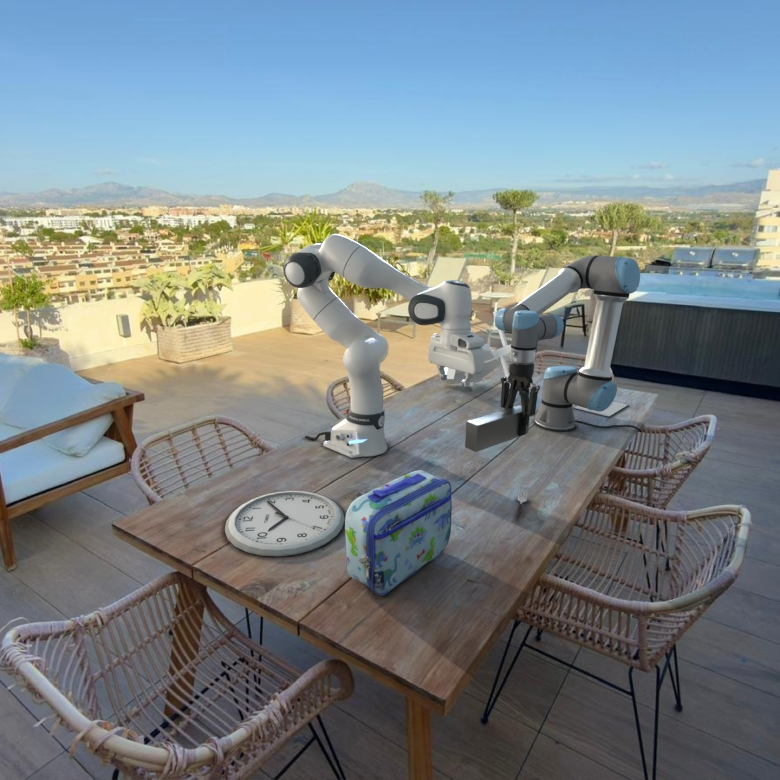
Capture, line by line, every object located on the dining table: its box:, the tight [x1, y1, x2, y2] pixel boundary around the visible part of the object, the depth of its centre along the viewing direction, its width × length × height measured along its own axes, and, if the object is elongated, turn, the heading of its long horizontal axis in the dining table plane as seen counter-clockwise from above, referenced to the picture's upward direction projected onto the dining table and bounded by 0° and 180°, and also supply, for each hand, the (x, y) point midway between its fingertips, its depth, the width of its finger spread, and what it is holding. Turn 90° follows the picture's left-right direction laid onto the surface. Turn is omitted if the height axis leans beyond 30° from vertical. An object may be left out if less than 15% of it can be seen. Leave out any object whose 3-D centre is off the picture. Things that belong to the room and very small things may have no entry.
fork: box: [516, 487, 529, 521], centre depth 143 cm, size 3×16×2 cm, turn 160°
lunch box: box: [344, 469, 453, 596], centre depth 114 cm, size 26×11×21 cm, turn 135°
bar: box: [464, 405, 531, 453], centre depth 161 cm, size 24×4×8 cm, turn 128°
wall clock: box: [224, 490, 345, 557], centre depth 134 cm, size 30×2×30 cm
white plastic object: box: [441, 310, 530, 400], centre depth 245 cm, size 37×45×31 cm
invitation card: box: [573, 400, 629, 418], centre depth 226 cm, size 21×1×15 cm
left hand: (454, 382), depth 156 cm, fingers open, 8 cm apart
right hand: (515, 432), depth 167 cm, fingers closed on bar, 4 cm apart
